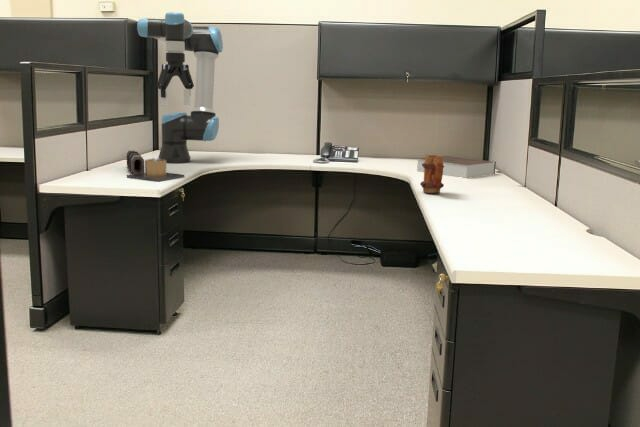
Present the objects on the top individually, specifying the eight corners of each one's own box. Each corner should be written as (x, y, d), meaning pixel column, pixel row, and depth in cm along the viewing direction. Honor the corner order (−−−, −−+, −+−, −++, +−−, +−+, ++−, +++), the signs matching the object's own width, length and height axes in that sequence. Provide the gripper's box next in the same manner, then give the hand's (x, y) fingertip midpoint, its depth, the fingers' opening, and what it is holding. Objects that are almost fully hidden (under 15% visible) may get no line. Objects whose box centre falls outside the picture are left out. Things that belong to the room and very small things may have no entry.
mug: (417, 190, 252) (420, 152, 249) (438, 191, 253) (441, 152, 250) (427, 197, 238) (429, 156, 235) (448, 198, 239) (451, 157, 236)
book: (445, 168, 327) (446, 155, 326) (494, 175, 308) (495, 161, 307) (415, 172, 310) (416, 158, 309) (466, 179, 291) (467, 165, 290)
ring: (155, 173, 268) (154, 158, 267) (170, 174, 264) (170, 160, 263) (141, 175, 261) (141, 160, 260) (156, 177, 257) (156, 161, 256)
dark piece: (154, 173, 273) (153, 155, 272) (184, 177, 266) (184, 158, 265) (126, 177, 259) (126, 158, 258) (158, 181, 252) (157, 162, 251)
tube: (141, 172, 295) (149, 173, 267) (126, 176, 292) (133, 178, 265) (134, 149, 293) (142, 147, 265) (119, 152, 291) (126, 151, 263)
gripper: (187, 52, 276) (188, 103, 281) (146, 51, 255) (148, 105, 260) (202, 53, 273) (202, 104, 278) (161, 51, 251) (162, 107, 256)
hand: (176, 105), depth 269 cm, fingers open, 13 cm apart
